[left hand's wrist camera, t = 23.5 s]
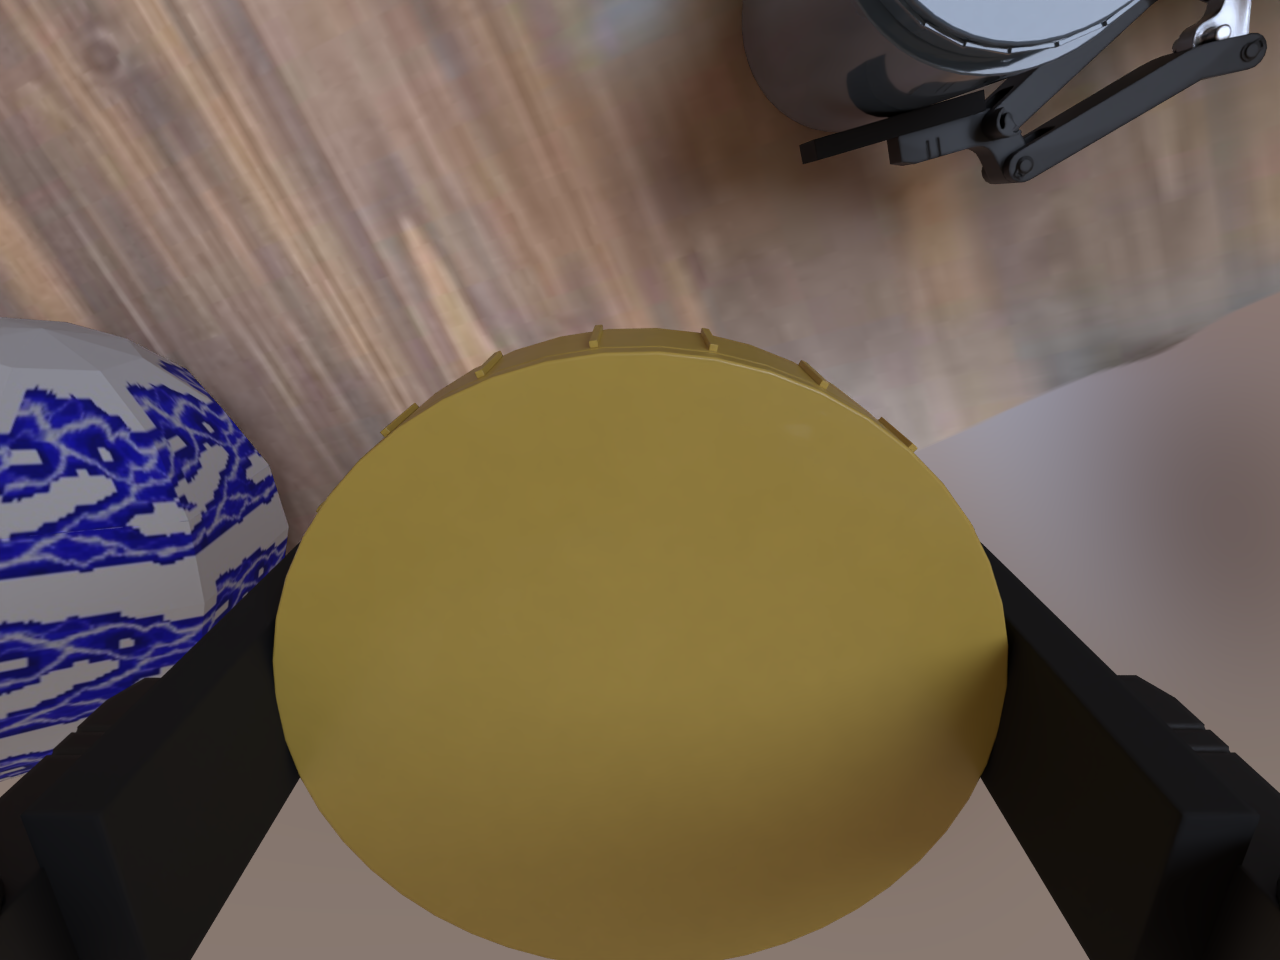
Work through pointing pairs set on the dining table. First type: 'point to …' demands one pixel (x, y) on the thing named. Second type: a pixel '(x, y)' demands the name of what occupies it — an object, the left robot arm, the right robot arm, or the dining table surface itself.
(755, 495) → the lid
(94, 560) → the ornament
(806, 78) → the jar
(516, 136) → the dining table surface
